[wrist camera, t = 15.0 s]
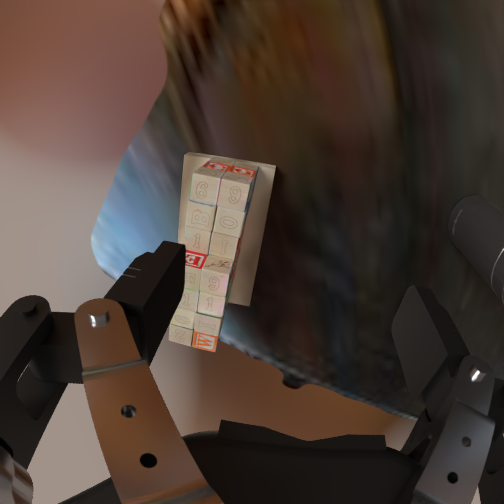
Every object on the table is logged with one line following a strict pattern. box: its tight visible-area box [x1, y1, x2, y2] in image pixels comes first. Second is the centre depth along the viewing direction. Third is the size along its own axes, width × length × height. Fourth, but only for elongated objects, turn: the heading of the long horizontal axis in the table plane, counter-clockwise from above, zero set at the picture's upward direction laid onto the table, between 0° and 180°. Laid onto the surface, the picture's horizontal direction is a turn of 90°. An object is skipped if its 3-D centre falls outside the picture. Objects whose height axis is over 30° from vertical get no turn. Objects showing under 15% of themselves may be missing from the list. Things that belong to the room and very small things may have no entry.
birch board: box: [178, 152, 276, 306], centre depth 46 cm, size 12×22×2 cm, turn 171°
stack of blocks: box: [169, 157, 259, 352], centre depth 39 cm, size 21×6×12 cm, turn 168°
